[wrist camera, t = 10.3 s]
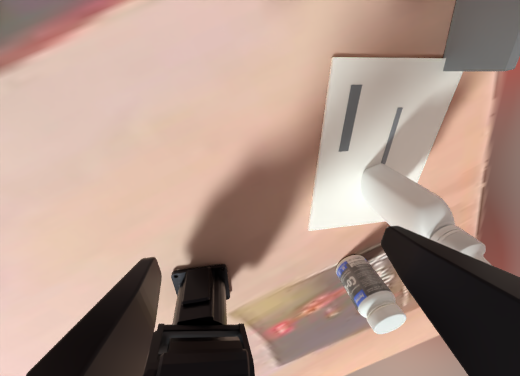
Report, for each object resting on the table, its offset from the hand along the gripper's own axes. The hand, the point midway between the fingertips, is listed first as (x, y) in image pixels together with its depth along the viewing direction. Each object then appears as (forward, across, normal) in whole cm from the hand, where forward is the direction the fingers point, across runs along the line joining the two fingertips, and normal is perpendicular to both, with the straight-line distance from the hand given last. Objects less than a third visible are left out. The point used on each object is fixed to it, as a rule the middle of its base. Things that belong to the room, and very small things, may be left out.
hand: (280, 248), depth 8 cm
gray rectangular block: (+13, -18, -10) cm, 24 cm away
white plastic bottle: (+13, -15, +5) cm, 20 cm away
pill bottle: (+13, -15, +19) cm, 28 cm away
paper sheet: (+13, -14, +2) cm, 19 cm away
